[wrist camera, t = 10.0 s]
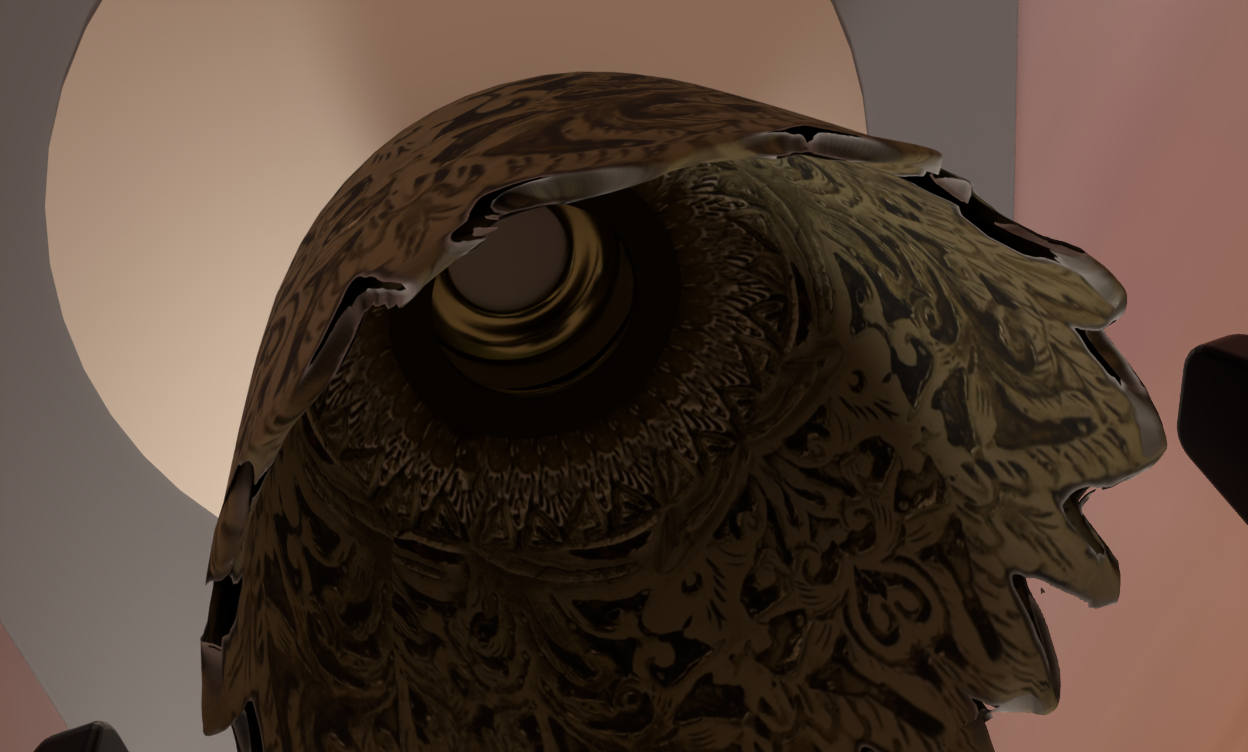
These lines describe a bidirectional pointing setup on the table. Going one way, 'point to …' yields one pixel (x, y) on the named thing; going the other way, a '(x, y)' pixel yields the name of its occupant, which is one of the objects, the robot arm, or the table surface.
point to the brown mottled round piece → (665, 445)
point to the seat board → (276, 225)
